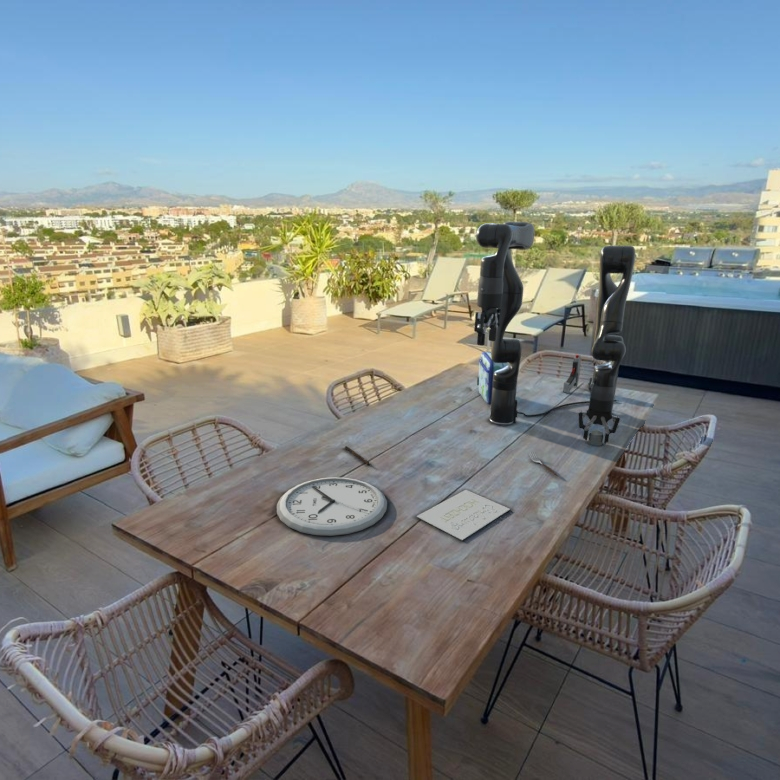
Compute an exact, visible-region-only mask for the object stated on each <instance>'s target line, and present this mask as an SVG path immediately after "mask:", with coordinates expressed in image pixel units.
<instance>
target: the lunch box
mask: <svg viewBox="0 0 780 780" xmlns="http://www.w3.org/2000/svg"><path fill="white" fill-rule="evenodd" d="M507 365H508V363H494V362H493V361H492V358H491V351H482V352H481V354H480V358H479V360H478V377H477V381H476V384H477V385H476V386H478V393H479V395H480V396H481V397H482V399H483V400H484V402H485V404H487V405H488V406H489V405H490V406H491V398H492V385H493V374H494V372H495V371H497V370H499V369H502V368H504V367H506V366H507Z"/></svg>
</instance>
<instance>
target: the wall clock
mask: <svg viewBox="0 0 780 780" xmlns="http://www.w3.org/2000/svg"><path fill="white" fill-rule="evenodd" d="M387 509H388V500H387V498H386V496H385V494H384V493H383V492H382V491H381V490H380V489H379V488H377V487H376V486H374V485H372V484H371V483H369V482H365V481H362V480H359V479H355V478H349V477H338V476H337V477H335V476H333V477H332V476H331V477H322V478H317V479H312V480H307V481H305V482H302V483H299V484H297V485H295V486H293V487H292V488H290V489H288V490H287V491H286V492H285V493H284V494H283V495H281V496H280V498H279V499H278V502H277V503H276V515H277V517H278V518H279V520H280V521H281V522H282V523H283V524H285V525H286V526H287V527H288V528H290V529H293V530H295V531H297V532H299V533H303V534H308V535H312V536H327V537H328V536H329V537H331V536H332V537H333V536H342V535H350V534H352V533H356V532H361V531H363V530H366V529H368V528H369V527H372V526H373V525H375V524H376V523H378V522H379V521H380V520H381V519H382V518H383V517H384V516H385V514H386V512H387Z"/></svg>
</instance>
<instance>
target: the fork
mask: <svg viewBox="0 0 780 780" xmlns="http://www.w3.org/2000/svg"><path fill="white" fill-rule="evenodd" d="M528 454H529V457H530V458H531V460H532V462H534V463H538V464H541V466H543V468H544V469H546V471H548V472H550V473H552V475H554V476H555V477H559V475H558V474H557V473H556V472H555V471H554V470H553V469H552V468H551V467H549V466H548V465H546V464H545V463H543V462H542V460H541V459H540V458H539V456H538V454H537V452H536V451H528Z"/></svg>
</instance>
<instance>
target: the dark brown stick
mask: <svg viewBox="0 0 780 780" xmlns="http://www.w3.org/2000/svg"><path fill="white" fill-rule="evenodd" d="M344 449H345V450H346V451H348V452H349V453H350V454H352V455H353V456H355V457H356V458H358V459H359V460H361V461H362V462H363V463H364V464H366V465H370V461H368V460H367V459H366V458H364V457H363V456H361V455H360V454H358V453H357V452H356V451H354V450H353V449H352V448H350V447H348V446H347V445H345V446H344Z"/></svg>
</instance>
